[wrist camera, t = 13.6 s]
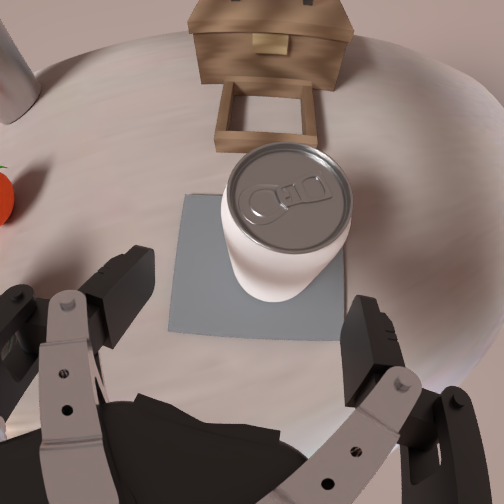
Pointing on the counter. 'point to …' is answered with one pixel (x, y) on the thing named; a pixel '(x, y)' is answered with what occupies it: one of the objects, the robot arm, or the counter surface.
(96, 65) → the counter surface
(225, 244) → the mat
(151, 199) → the counter surface
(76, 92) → the counter surface
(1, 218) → the clementine
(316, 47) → the toolbox
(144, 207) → the counter surface
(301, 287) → the can
